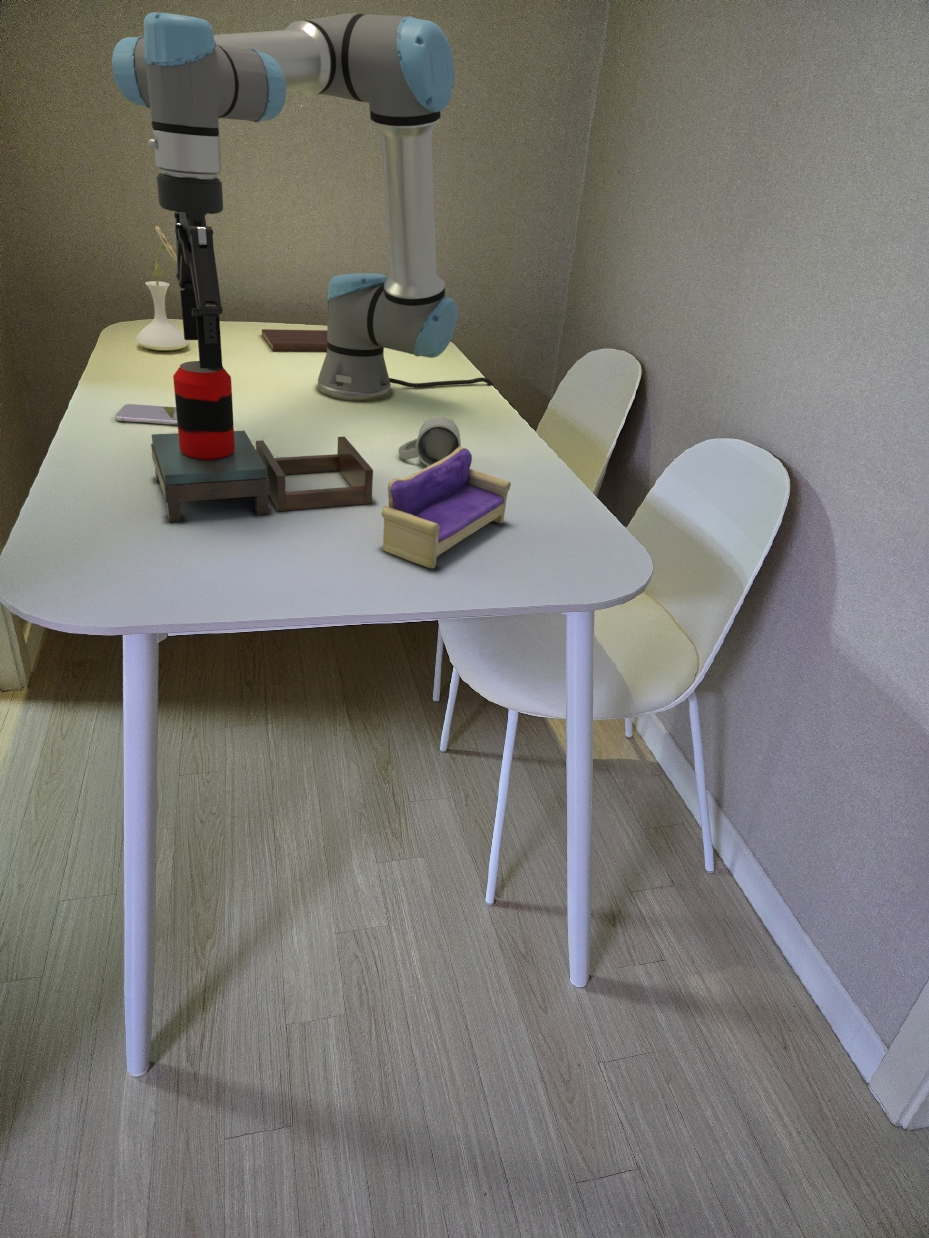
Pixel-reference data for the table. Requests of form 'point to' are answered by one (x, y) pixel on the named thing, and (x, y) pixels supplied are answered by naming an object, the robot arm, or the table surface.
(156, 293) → the flower in vase
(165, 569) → the table surface
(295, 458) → the can rack
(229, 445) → the soda can
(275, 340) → the notebook
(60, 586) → the table surface
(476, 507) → the toy sofa
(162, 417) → the mobile phone
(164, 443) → the footstool
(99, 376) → the table surface
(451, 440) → the ceramic mug
